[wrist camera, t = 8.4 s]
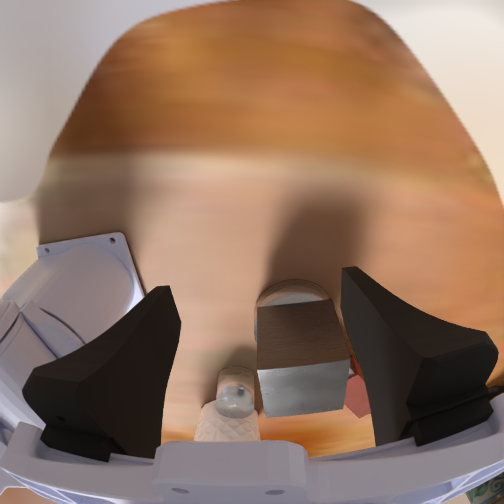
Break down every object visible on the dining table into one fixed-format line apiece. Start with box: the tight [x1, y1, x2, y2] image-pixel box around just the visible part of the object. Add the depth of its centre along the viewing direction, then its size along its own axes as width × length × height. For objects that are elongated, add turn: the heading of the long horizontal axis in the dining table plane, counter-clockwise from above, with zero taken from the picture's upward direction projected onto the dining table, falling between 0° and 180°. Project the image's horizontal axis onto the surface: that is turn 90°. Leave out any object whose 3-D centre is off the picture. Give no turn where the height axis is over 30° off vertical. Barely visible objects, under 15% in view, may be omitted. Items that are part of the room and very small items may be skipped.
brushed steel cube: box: [257, 299, 351, 418], centre depth 21 cm, size 5×5×6 cm
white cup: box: [194, 400, 260, 442], centre depth 29 cm, size 8×8×10 cm
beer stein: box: [465, 386, 504, 504], centre depth 26 cm, size 16×19×25 cm
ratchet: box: [254, 280, 371, 418], centre depth 26 cm, size 20×6×6 cm, turn 37°
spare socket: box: [215, 366, 254, 419], centre depth 28 cm, size 4×4×4 cm
